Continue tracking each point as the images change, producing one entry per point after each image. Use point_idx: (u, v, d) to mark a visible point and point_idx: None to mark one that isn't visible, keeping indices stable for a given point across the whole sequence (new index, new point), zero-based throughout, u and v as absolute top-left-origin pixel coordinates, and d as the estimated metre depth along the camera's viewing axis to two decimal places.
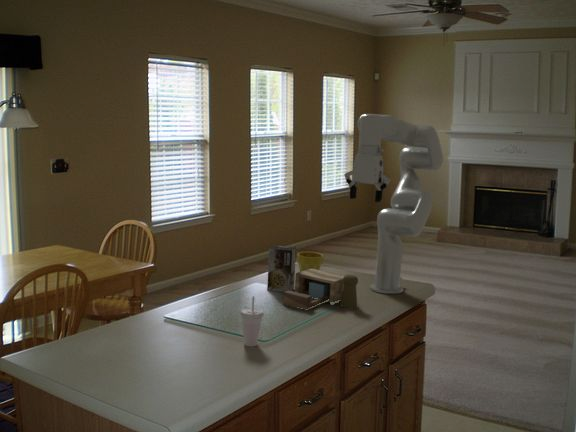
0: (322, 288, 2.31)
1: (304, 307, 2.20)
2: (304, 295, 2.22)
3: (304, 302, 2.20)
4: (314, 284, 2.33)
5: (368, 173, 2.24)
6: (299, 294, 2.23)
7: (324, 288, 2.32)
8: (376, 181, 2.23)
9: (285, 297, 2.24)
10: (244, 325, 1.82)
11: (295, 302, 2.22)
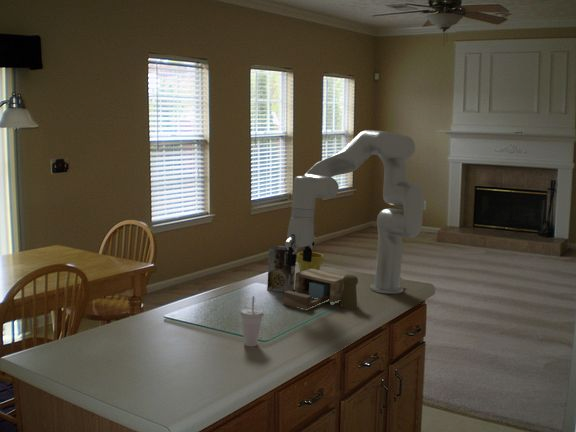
0: (322, 288, 2.31)
1: (304, 307, 2.20)
2: (304, 295, 2.22)
3: (304, 302, 2.20)
4: (314, 284, 2.33)
5: (309, 235, 2.20)
6: (299, 294, 2.23)
7: (324, 288, 2.32)
8: (312, 242, 2.23)
9: (285, 297, 2.24)
10: (244, 325, 1.82)
11: (295, 302, 2.22)
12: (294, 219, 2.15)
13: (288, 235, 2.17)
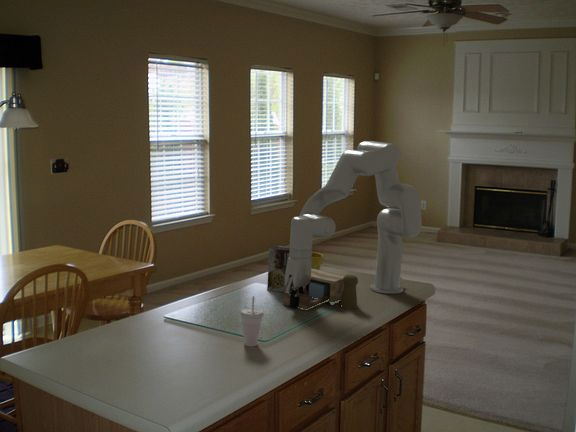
0: (322, 288, 2.31)
1: (304, 307, 2.20)
2: (304, 295, 2.22)
3: (304, 302, 2.20)
4: (314, 284, 2.33)
5: (307, 275, 2.22)
6: (299, 294, 2.23)
7: (324, 288, 2.32)
8: (310, 280, 2.25)
9: (285, 297, 2.24)
10: (244, 325, 1.82)
11: None
12: (291, 260, 2.18)
13: (286, 275, 2.19)
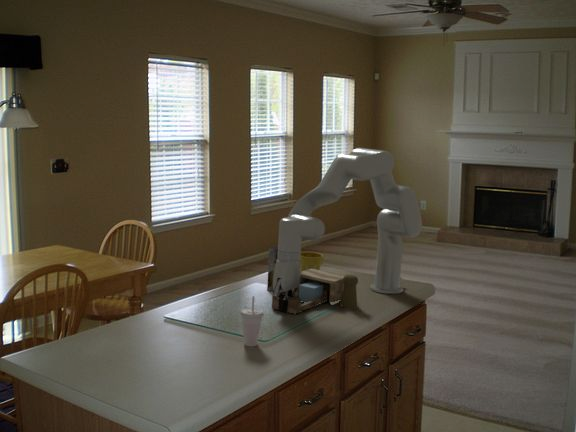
0: (312, 291, 2.26)
1: (293, 311, 2.14)
2: (293, 298, 2.17)
3: (293, 305, 2.14)
4: (304, 287, 2.28)
5: (296, 278, 2.16)
6: (288, 297, 2.17)
7: (314, 291, 2.26)
8: (299, 283, 2.19)
9: (274, 300, 2.18)
10: (244, 325, 1.82)
11: None
12: (280, 263, 2.12)
13: (274, 278, 2.13)
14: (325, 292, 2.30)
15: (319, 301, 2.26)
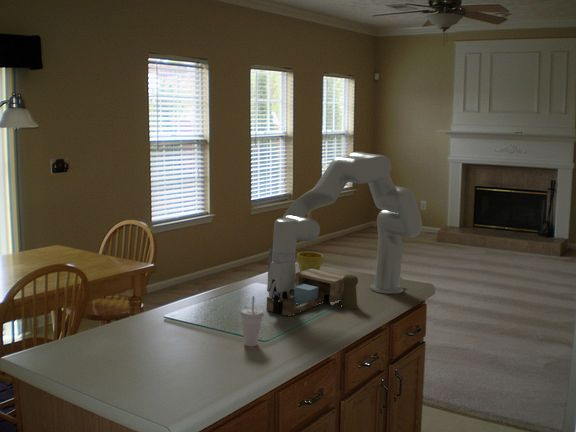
0: (308, 293, 2.24)
1: (288, 313, 2.12)
2: (288, 300, 2.14)
3: (288, 307, 2.12)
4: (299, 289, 2.25)
5: (291, 279, 2.14)
6: (283, 299, 2.14)
7: (309, 293, 2.24)
8: (294, 285, 2.17)
9: (268, 302, 2.16)
10: (244, 325, 1.82)
11: None
12: (274, 264, 2.09)
13: (269, 280, 2.11)
14: (320, 294, 2.28)
15: (314, 303, 2.24)
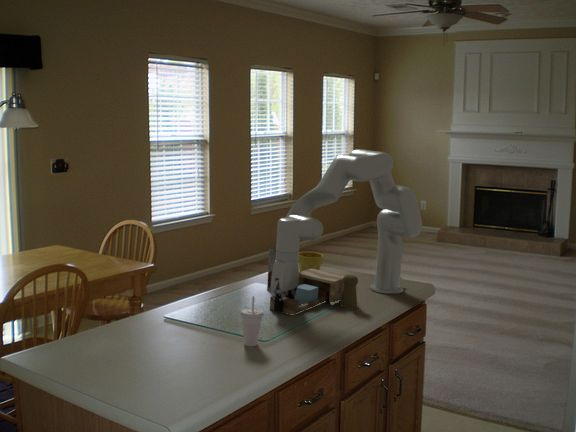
0: (308, 293, 2.24)
1: (291, 312, 2.14)
2: (291, 299, 2.16)
3: (291, 307, 2.13)
4: (299, 289, 2.25)
5: (294, 278, 2.15)
6: (286, 299, 2.16)
7: (309, 293, 2.24)
8: (297, 284, 2.18)
9: (272, 302, 2.18)
10: (244, 325, 1.82)
11: None
12: (278, 263, 2.11)
13: (272, 279, 2.12)
14: (323, 293, 2.30)
15: (317, 302, 2.26)
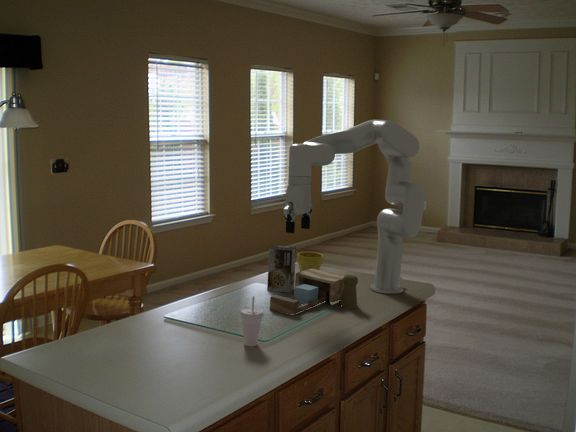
0: (307, 293, 2.24)
1: (291, 312, 2.14)
2: (291, 299, 2.16)
3: (291, 307, 2.13)
4: (299, 289, 2.25)
5: (307, 202, 2.22)
6: (286, 299, 2.16)
7: (309, 293, 2.24)
8: (310, 209, 2.25)
9: (272, 302, 2.18)
10: (244, 325, 1.82)
11: (282, 307, 2.15)
12: (291, 187, 2.17)
13: (286, 203, 2.19)
14: (323, 293, 2.30)
15: (317, 302, 2.26)
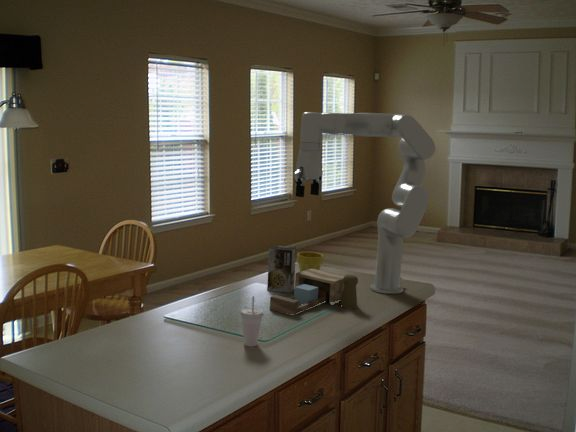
0: (307, 293, 2.24)
1: (291, 312, 2.14)
2: (291, 299, 2.16)
3: (291, 307, 2.13)
4: (299, 289, 2.25)
5: (317, 169, 2.32)
6: (286, 299, 2.16)
7: (309, 293, 2.24)
8: (319, 175, 2.35)
9: (272, 302, 2.18)
10: (244, 325, 1.82)
11: (282, 307, 2.15)
12: (302, 153, 2.28)
13: (297, 168, 2.29)
14: (323, 293, 2.30)
15: (317, 302, 2.26)
